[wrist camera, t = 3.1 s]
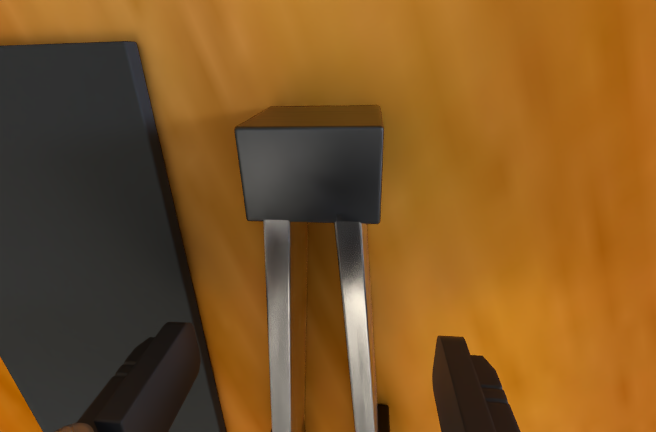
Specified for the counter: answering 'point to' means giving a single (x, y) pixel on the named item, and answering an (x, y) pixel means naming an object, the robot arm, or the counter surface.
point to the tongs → (292, 238)
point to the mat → (87, 231)
